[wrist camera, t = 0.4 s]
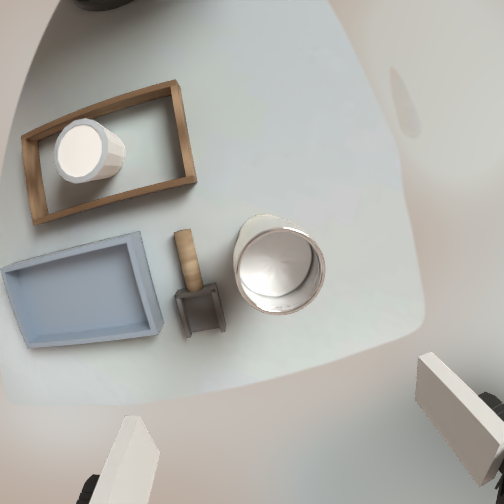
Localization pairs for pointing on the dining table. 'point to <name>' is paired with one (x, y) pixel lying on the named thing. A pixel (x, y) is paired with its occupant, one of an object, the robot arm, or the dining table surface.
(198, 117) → the dining table surface
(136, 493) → the robot arm
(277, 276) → the silver metal tumbler
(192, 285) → the hand scoop
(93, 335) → the bin
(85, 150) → the white faceted cup
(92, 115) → the walnut frame
